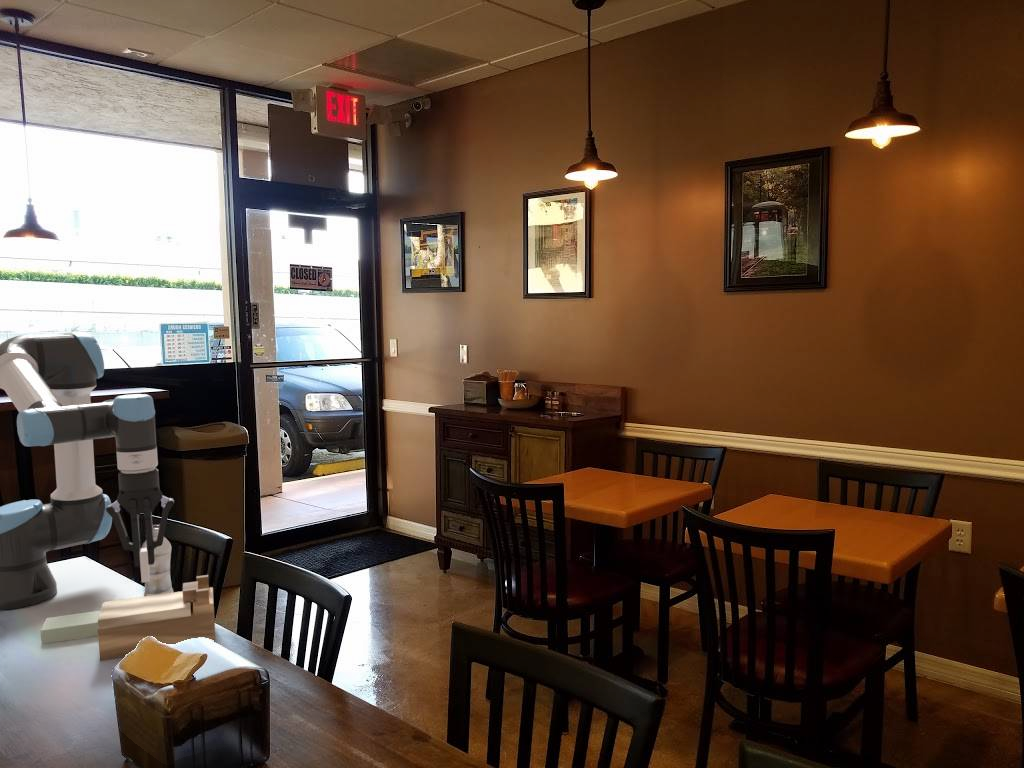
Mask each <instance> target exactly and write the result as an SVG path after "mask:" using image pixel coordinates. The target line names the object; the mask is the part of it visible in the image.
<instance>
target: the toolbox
mask: <svg viewBox="0 0 1024 768" xmlns="http://www.w3.org/2000/svg"><path fill="white" fill-rule="evenodd" d="M195 579H196V581H198V589H197V590H196V596H197V600H196V601H191V616H187V617H180V618H173V619H167V620H160V621H153V622H146V623H140V624H133V625H126V626H119V627H113V628H106V629H98V636H97V640H98V653H99V661H107V660H113V659H120V658H125V657H124V656H125V655H126V654H128V653H129V652H131V651H132V650H134V649H135V648H136V646H137V644H138V643H139V641H140V640H142V639H143V638H145V637H147V636H153V637H155V638H156V639H157V640H158V641H160V642H162V643H166V644H176V643H178V642H181V641H184V640H187V639H191V638H198V637H205V638H209V639H212V640H214V641H216V624H215V623H216V622H215V620H216V619H215V606H214V604H215V603H214V588H213V586H212V587H211V586H210V585H209V583H210V581H209V574H206V575H205V574H204V575H196V578H195Z"/></svg>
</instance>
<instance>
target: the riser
mask: <svg viewBox="0 0 1024 768" xmlns="http://www.w3.org/2000/svg"><path fill="white" fill-rule="evenodd" d="M100 612H101V610H95V611H93V610H92V611H87V612H81V613H73V614H67V615H59V616H53V617H52V616H51V617H46V619H45V621H44V623H43V625H42V626H41V629H40V640H41V644H42V645H45V644H53V643H57V642H65V641H70V640H71V641H72V640H79V639H83V638H91V637H98V618H99V615H100Z"/></svg>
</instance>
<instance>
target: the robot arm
mask: <svg viewBox="0 0 1024 768" xmlns="http://www.w3.org/2000/svg"><path fill="white" fill-rule="evenodd" d="M104 361H105V360H104V357H103V352H102V350H101V347H100V345H99V343H98V341H97V339H96V338H95V337H94V336H93V335H92V334H90V333H88V332H87V333H86V332H57V333H55V332H54V333H53V332H52V333H39V334H37V333H36V334H29V333H28V334H20V335H15V336H13V337H10V338H8V339H6V340H5V341H3V342H1V343H0V389H1V390H3V391H5V393H6V395H7V396H8V398H9V399H10V401H11V402H12V403H13V405H14V407H15V409H17V411H18V414H17V417H16V427H17V435H18V438H19V442H20V443H21V444H22V445H23V446H24V447H27V448H28V447H38V446H39V447H47V446H51V445H53V449H54V464H55V480H56V489H55V490H54V491H53V492H52V493H50V503H45V504H43V502H42V501H41V500H40V499H28V500H26V499H23V500H19V501H14V502H11V503H7V504H4V505H2V506H0V610H1V611H2V610H14V609H20V608H25V607H29V606H33V605H37V604H39V603H43V602H46V601H47V600H49V599H51V598H53V597H54V596H56V594H57V592H58V588H57V587H58V585H57V581H56V579H55V577H54V575H53V573H52V571H51V569H50V566H49V564H48V562H47V552H51V551H54V550H60V549H65V548H69V547H74V546H78V545H83V544H84V545H87V544H90V543H93V542H97V541H101V540H103V539H105V538H106V537H107V535H108V534H109V533H110V530H111V528H112V523H114V526H115V529H116V531H117V534H118V538H119V541H120V543H121V545H122V548H123V550H124V551H130V552H131V551H132V554H133V565H134V566H135V567H136V568H137V567H139V568H140V577H141V583H145V582H149V581H150V566H149V565H152V564H154V562H155V554H154V549H155V548H156V547H158V546H161V545H162V543H163V538H164V537H165V532H166V529H167V527H166V526H167V522H168V518H169V514H170V511H171V509H172V507H173V506H174V503H175V500H174V498H173V497H167V496H165V495H163V491H162V490H161V488H160V487H161V486H160V476H159V475H160V474H159V469H158V468H157V466H158V465H159V459H158V458H159V457H158V445H157V430H156V409H155V405H154V399H153V397H152V396H151V395H149V394H146V393H143V394H142V393H134V394H133V393H132V394H131V393H130V394H123V395H117V396H116V397H115V398H114V399H107V400H104V401H102V402H93V403H92V401H91V392H92V391H93V390H94V389H95V388H96V387H97V379H99V380H100V378H102V377H103V376H104V374H105V363H104ZM113 437H114V438H115V445H116V446H115V449H116V450H115V451H116V462H117V465H116V467H117V470H119V473H118V474H117V475H118V476H117V477H118V490H119V492H118V496H117V499H116V500H115V501H114V502H113V503H112V501H111V499H110V497H109V496H108V494H105V493H103V489H102V487H100V486H99V485H97V484H96V473H95V472H96V471H95V456H94V455H95V454H94V440H98V439H107V438H108V439H109V438H113ZM160 502H161V505H160V506H161V507H162V513H161V517H160V521H159V522H160V523H159V525H160V527H159V532H158V537H157V539H156V540H154V537H153V525H154V524H153V512H154V510H155V508H156V507H157V506H158V504H159V503H160ZM120 506H121V507H122V508H123V509H124V510H125V511H126V512H127V513H128V514H129V515H130V523H131V525H130V526H131V536H132V537H131V538H132V542H131V540H130V538H129V535H128V532H127V529H126V525H125V523H124V521H123V518H122V515H121V513H120V511H121V507H120ZM140 514H141V515H144V517H143V518H144V525H145V538H146V539H145V541H146V542H147V548H142V546H141V535H140V521H139V519H140V518H139V517H140Z"/></svg>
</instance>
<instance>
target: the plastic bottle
mask: <svg viewBox="0 0 1024 768" xmlns="http://www.w3.org/2000/svg"><path fill="white" fill-rule="evenodd" d="M159 527H160V524H153V537H154V540H156V539H157V537H158V532H159ZM141 548H147V542H146V540H145V541H144V542H143V543H142V546H141ZM154 554H155V562H154V564H152V565H149V566H150V581H149V582H144V592H143V597H144V596H151V595H158V594H166V593H173V592H174V588H173V587H172V580H171V557H172V556H171V555H172V545H171V543H170V541H169V540H168V539H167V538H166V537H165V536H164V538H163V543H162V545H161V546H158V547H156V548H155V549H154Z"/></svg>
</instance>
